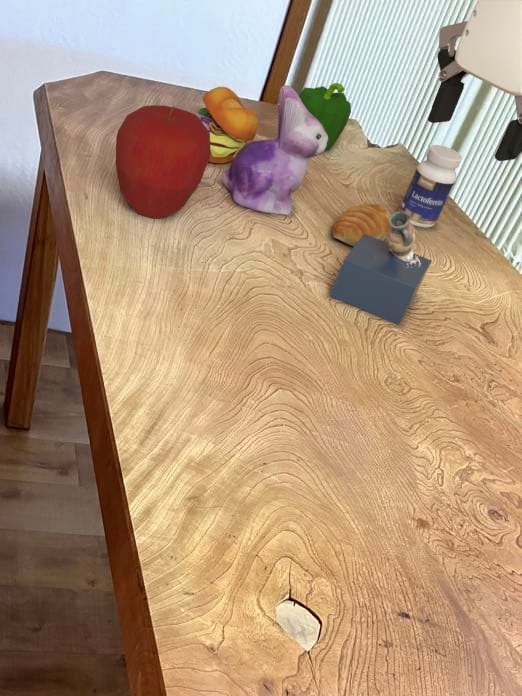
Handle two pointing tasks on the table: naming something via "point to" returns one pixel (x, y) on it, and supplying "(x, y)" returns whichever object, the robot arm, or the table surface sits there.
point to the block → (379, 279)
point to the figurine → (277, 159)
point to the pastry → (362, 223)
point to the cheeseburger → (226, 123)
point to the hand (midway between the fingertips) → (470, 139)
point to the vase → (401, 237)
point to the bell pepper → (328, 109)
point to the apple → (160, 158)
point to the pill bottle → (431, 186)
